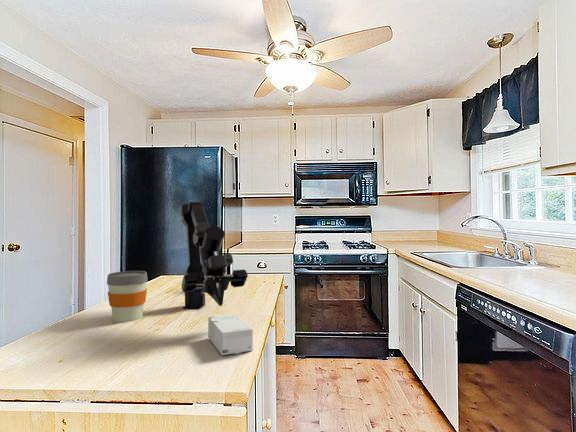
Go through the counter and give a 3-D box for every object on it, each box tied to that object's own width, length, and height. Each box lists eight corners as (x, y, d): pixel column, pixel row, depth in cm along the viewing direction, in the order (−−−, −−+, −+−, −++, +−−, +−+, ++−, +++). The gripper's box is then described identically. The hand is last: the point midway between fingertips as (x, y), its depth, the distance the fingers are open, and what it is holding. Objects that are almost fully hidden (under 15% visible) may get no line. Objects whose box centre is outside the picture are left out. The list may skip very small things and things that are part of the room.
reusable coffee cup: (156, 315, 122) (155, 272, 122) (125, 325, 111) (125, 278, 111) (129, 311, 128) (129, 269, 127) (98, 321, 116) (97, 275, 116)
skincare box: (234, 313, 103) (254, 327, 90) (234, 334, 103) (254, 351, 90) (206, 317, 99) (222, 331, 86) (206, 338, 99) (222, 356, 86)
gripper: (183, 246, 101) (191, 292, 91) (245, 243, 109) (258, 285, 100) (179, 269, 108) (186, 314, 98) (237, 265, 117) (249, 306, 107)
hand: (221, 304), depth 101 cm, fingers closed
